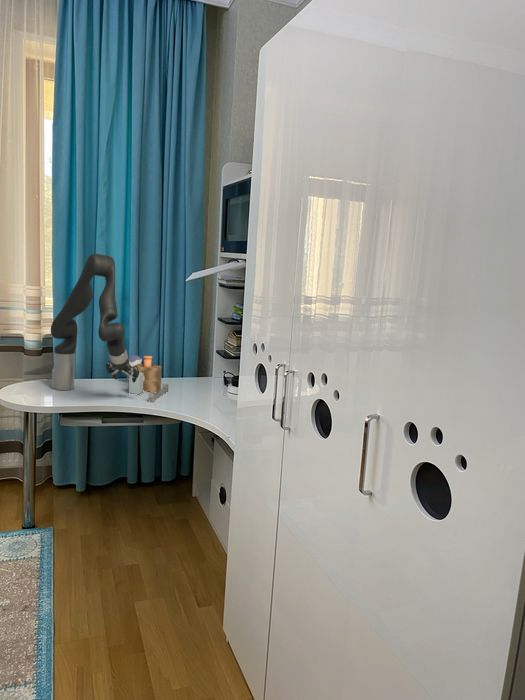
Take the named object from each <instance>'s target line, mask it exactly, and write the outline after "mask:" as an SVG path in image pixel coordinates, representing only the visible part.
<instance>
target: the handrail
mask: <svg viewBox="0 0 525 700" xmlns="http://www.w3.org/2000/svg"><path fill="white" fill-rule="evenodd" d="M166 392H168V393H169V383H162V387H161V389H160V390H159V391H157V392H156V393H151V392H147V393H148V394H147V395H148V396H147V402H148V401H150V402H149V403H154V402H155V401H157V400H158V399H159V398H161V397H162V396H163V394H164V395H166V394H167V393H166ZM160 396H161V397H160ZM157 398H158V399H157ZM154 400H155V401H154Z"/></svg>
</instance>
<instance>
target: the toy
mask: <svg viewBox="0 0 525 700" xmlns="http://www.w3.org/2000/svg"><path fill="white" fill-rule="evenodd" d="M128 358H129V364H130V365H131V366H132V367H133V366H135V365H137V364H144V358H143V359H142V358H141V356H139V355H137V354H134V355H130V356H128ZM129 377H130V376H128V375H127V381H129Z"/></svg>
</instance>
